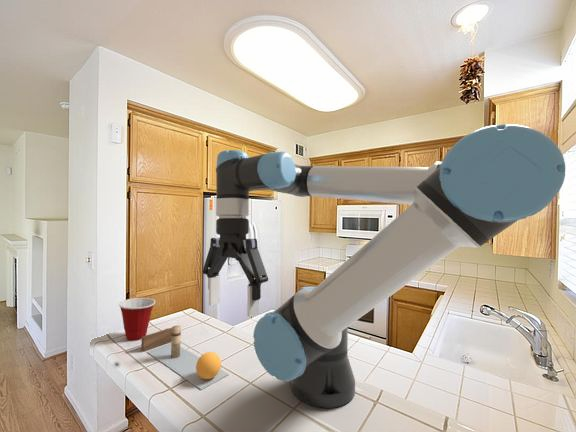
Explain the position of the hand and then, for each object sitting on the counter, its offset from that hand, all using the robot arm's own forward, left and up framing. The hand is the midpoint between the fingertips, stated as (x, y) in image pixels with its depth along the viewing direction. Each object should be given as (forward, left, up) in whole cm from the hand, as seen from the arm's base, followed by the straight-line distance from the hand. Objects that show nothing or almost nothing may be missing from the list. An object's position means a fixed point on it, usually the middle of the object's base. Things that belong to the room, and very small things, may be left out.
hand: (232, 309), depth 61 cm
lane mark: (+20, 0, -19) cm, 27 cm away
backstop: (+36, 0, -19) cm, 40 cm away
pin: (+25, 0, -19) cm, 31 cm away
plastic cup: (+47, +2, -19) cm, 51 cm away
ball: (+9, 0, -16) cm, 18 cm away
